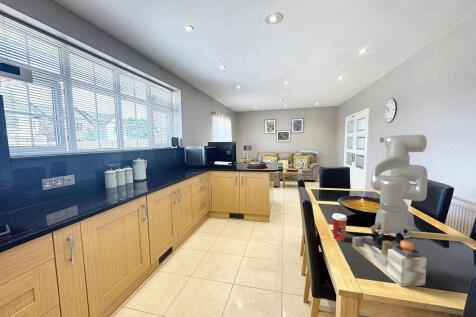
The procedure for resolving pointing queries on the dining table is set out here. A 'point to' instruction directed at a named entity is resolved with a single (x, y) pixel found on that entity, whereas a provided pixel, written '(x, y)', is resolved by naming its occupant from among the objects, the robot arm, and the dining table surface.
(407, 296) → the dining table surface
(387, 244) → the carriage
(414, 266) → the track
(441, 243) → the dining table surface
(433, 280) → the dining table surface
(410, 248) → the button
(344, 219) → the paper cup
